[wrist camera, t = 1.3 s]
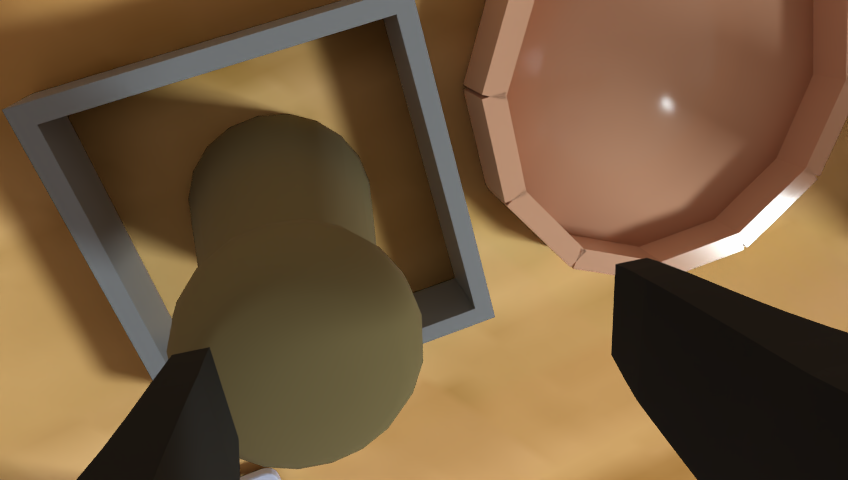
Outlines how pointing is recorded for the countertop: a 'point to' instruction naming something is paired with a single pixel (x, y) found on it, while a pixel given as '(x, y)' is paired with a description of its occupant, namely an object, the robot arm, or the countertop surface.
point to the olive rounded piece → (296, 294)
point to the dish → (655, 120)
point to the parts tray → (360, 4)
